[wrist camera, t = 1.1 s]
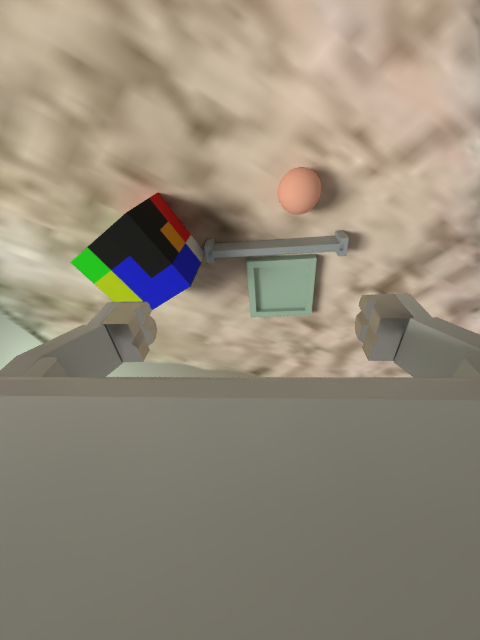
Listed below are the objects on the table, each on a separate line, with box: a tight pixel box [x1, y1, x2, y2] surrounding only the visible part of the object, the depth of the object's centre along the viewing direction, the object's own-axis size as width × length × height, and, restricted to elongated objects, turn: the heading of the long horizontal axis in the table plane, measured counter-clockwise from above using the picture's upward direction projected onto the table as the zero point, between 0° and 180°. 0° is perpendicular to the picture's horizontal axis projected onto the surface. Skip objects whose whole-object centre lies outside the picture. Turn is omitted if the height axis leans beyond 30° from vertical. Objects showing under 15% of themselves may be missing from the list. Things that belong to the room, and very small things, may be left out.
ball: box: [278, 167, 321, 214], centre depth 30 cm, size 5×5×5 cm
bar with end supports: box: [204, 230, 349, 263], centre depth 36 cm, size 2×19×3 cm, turn 95°
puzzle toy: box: [70, 193, 205, 310], centre depth 34 cm, size 10×10×10 cm
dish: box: [246, 254, 317, 317], centre depth 40 cm, size 10×10×2 cm
